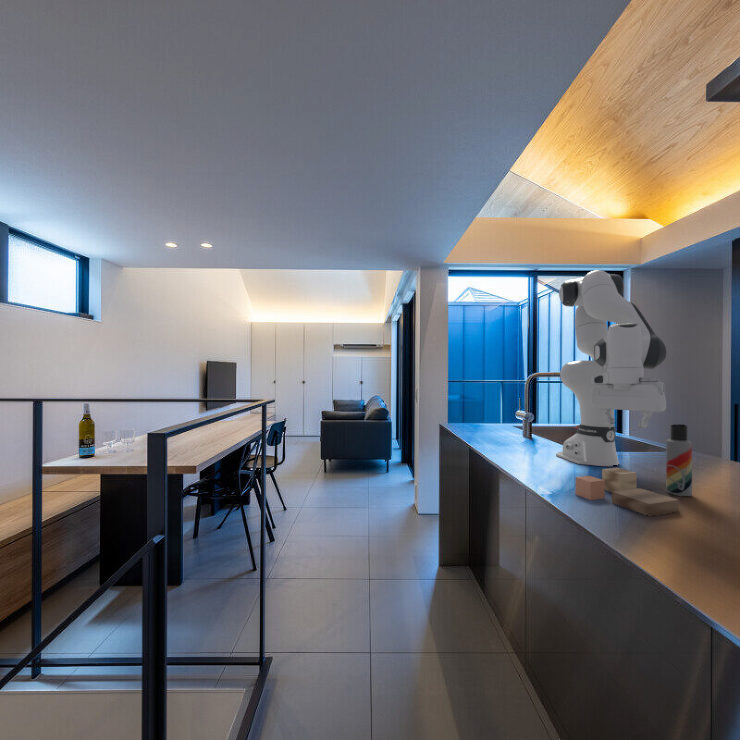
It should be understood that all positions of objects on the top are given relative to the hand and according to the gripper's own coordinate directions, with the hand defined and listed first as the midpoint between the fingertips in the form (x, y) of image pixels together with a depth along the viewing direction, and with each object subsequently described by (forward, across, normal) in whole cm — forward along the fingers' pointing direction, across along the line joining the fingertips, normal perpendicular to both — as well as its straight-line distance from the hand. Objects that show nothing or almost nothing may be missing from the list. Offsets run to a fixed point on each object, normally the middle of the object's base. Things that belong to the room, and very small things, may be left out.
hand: (626, 425), depth 111 cm
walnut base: (+20, -10, +8) cm, 23 cm away
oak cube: (+19, +2, +1) cm, 19 cm away
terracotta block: (+19, +2, +13) cm, 23 cm away
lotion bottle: (+19, -6, -12) cm, 24 cm away
